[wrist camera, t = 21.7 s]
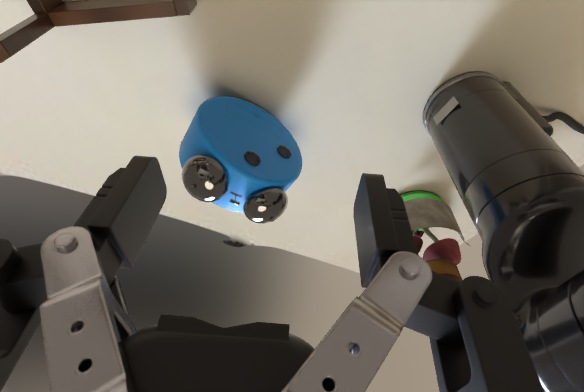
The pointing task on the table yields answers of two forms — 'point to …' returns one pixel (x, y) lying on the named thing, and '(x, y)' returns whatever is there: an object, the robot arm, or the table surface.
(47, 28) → the wooden frame
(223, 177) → the alarm clock
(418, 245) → the multicoloured stacked figure
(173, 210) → the table surface
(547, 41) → the table surface
